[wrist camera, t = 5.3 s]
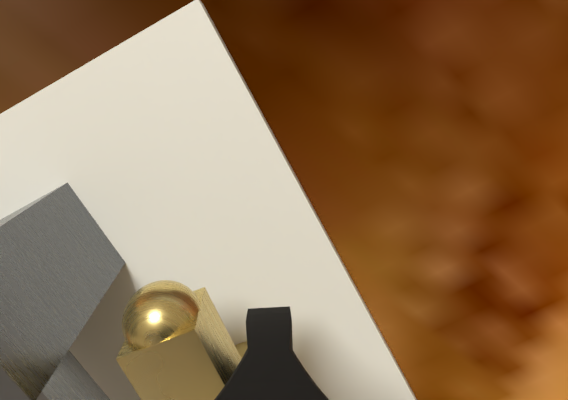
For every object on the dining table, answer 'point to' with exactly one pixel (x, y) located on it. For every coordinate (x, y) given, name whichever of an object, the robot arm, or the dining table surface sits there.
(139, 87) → the board
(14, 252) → the eye block
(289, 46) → the dining table surface
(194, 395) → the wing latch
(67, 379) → the upright post with base
